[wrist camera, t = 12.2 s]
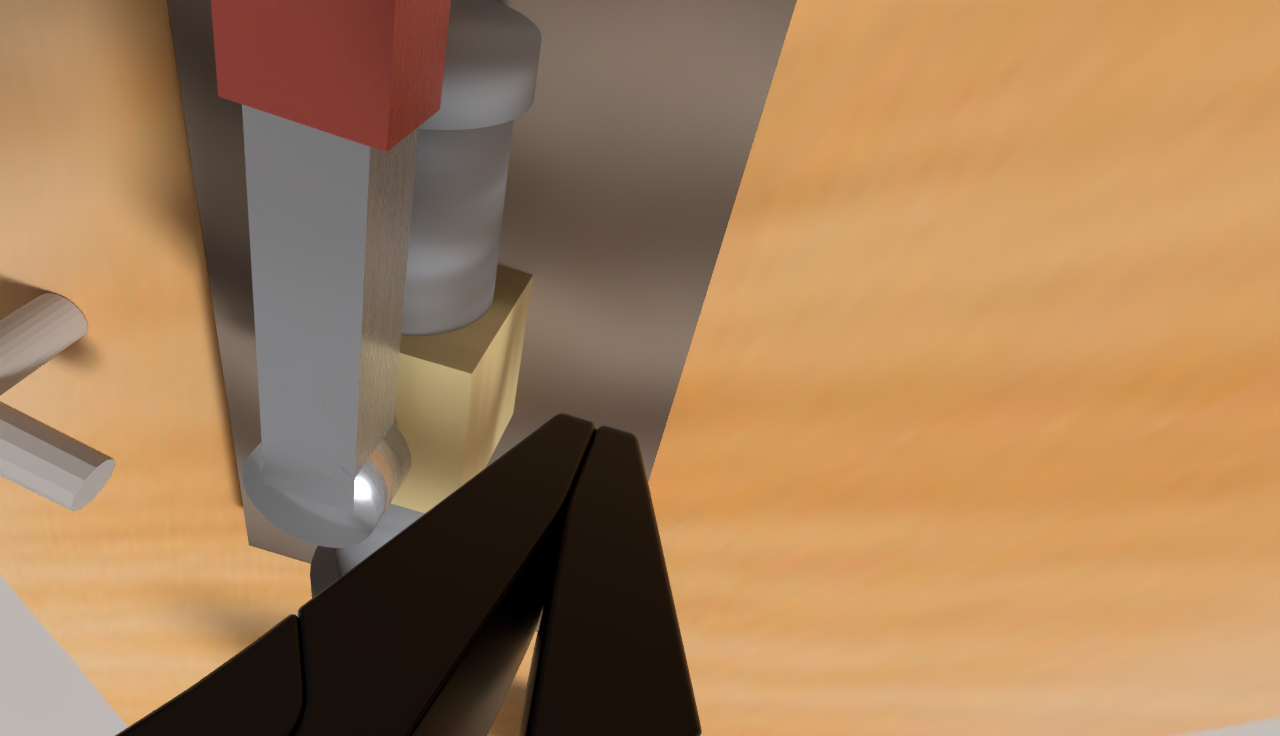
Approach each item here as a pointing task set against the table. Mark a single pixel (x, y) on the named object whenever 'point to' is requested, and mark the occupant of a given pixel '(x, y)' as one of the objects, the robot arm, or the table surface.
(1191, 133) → the table surface
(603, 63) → the valve mount
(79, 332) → the pipe connector
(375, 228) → the lever
